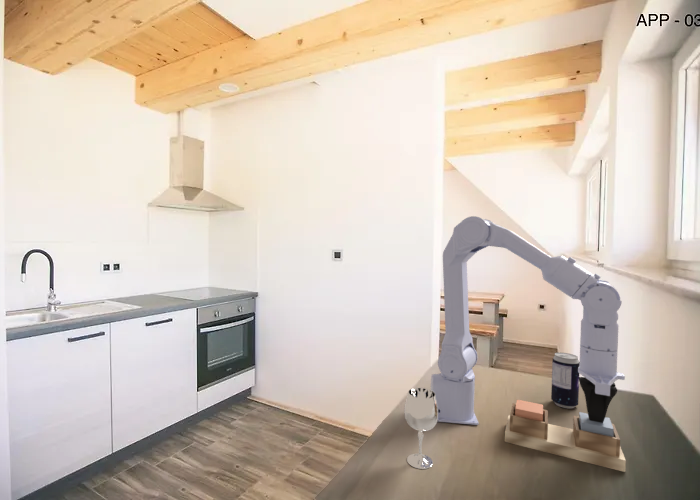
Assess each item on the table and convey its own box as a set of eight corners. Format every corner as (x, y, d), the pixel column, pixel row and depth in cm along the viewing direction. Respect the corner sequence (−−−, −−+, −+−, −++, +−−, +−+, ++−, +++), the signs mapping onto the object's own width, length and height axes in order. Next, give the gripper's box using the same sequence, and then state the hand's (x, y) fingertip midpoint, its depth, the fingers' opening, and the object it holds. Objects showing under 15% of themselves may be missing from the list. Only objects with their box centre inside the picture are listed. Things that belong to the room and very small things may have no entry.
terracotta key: (514, 423, 72) (515, 408, 72) (516, 413, 76) (516, 399, 76) (542, 429, 70) (543, 414, 70) (542, 419, 74) (543, 404, 74)
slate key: (580, 438, 67) (581, 422, 67) (578, 427, 71) (579, 411, 71) (613, 445, 65) (613, 429, 65) (608, 433, 69) (609, 417, 69)
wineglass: (413, 448, 68) (415, 384, 68) (442, 460, 65) (444, 392, 65) (396, 462, 64) (398, 393, 64) (427, 475, 60) (429, 403, 60)
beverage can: (582, 411, 86) (584, 360, 86) (555, 408, 87) (557, 357, 87) (572, 401, 92) (574, 353, 91) (547, 398, 93) (549, 351, 92)
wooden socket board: (504, 441, 72) (505, 416, 72) (508, 424, 79) (509, 401, 79) (625, 472, 63) (626, 442, 63) (617, 449, 70) (618, 423, 70)
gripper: (634, 361, 60) (630, 444, 60) (618, 341, 72) (615, 410, 73) (582, 354, 63) (579, 433, 63) (575, 336, 76) (573, 402, 76)
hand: (595, 420), depth 68 cm, fingers closed, pressing on slate key
